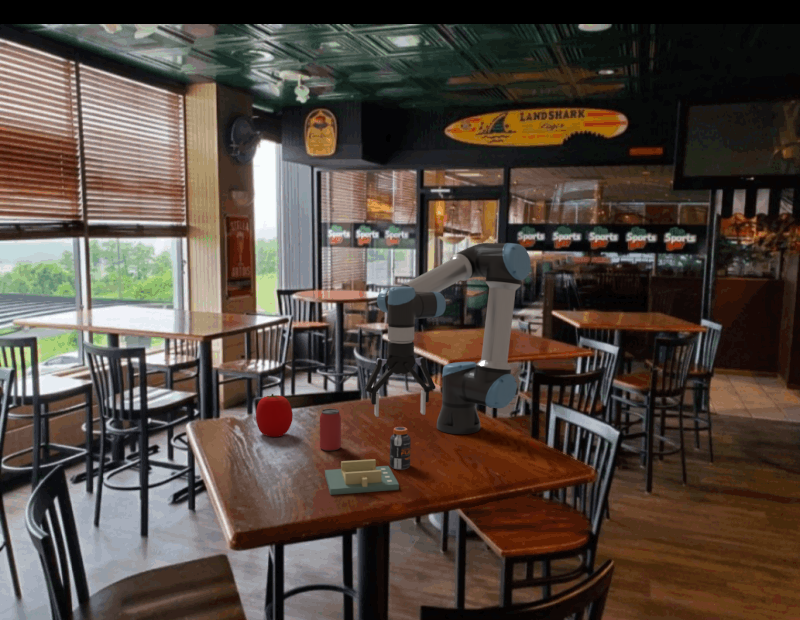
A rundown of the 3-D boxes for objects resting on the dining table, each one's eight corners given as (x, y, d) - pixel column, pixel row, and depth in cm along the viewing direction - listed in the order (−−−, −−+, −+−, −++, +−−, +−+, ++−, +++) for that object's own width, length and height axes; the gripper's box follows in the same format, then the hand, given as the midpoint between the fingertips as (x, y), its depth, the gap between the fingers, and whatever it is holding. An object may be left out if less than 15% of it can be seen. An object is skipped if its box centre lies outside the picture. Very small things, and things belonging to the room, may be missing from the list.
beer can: (337, 452, 199) (337, 414, 198) (317, 450, 200) (316, 412, 199) (343, 445, 206) (343, 408, 204) (323, 444, 207) (323, 407, 205)
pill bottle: (403, 471, 183) (403, 432, 182) (385, 467, 186) (386, 429, 185) (414, 465, 188) (414, 427, 187) (396, 461, 191) (397, 424, 190)
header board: (388, 470, 184) (388, 455, 183) (398, 489, 170) (399, 473, 169) (324, 475, 180) (324, 459, 179) (330, 494, 166) (330, 478, 166)
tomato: (248, 437, 213) (247, 395, 211) (267, 428, 223) (267, 388, 222) (281, 442, 208) (280, 399, 207) (299, 432, 219) (298, 391, 217)
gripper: (439, 338, 190) (438, 409, 192) (355, 339, 184) (354, 412, 187) (447, 342, 182) (445, 415, 184) (359, 344, 177) (358, 419, 179)
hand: (399, 414), depth 185 cm, fingers open, 13 cm apart
